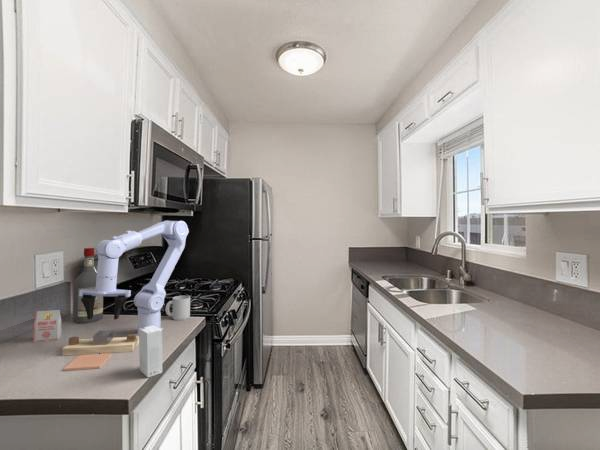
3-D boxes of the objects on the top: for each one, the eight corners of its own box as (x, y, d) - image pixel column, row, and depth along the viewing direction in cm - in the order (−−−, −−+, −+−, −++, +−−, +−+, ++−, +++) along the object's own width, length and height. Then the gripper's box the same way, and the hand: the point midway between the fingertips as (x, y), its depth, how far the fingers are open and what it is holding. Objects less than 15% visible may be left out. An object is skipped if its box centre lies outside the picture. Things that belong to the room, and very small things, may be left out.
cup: (191, 319, 134) (191, 298, 134) (166, 322, 129) (166, 300, 129) (188, 314, 140) (188, 294, 140) (164, 317, 135) (164, 297, 135)
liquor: (71, 320, 129) (72, 248, 129) (95, 315, 136) (96, 247, 136) (79, 324, 123) (80, 249, 123) (104, 319, 131) (105, 248, 131)
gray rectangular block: (99, 339, 103) (99, 330, 103) (112, 338, 104) (113, 330, 104) (92, 345, 98) (93, 336, 98) (106, 344, 99) (107, 335, 99)
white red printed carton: (38, 338, 109) (38, 310, 109) (61, 336, 111) (61, 308, 111) (33, 342, 106) (33, 313, 105) (57, 339, 108) (57, 311, 108)
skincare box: (163, 373, 86) (163, 329, 86) (146, 378, 83) (147, 333, 83) (154, 365, 90) (154, 324, 90) (137, 370, 87) (138, 327, 87)
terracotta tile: (79, 356, 95) (79, 355, 95) (111, 354, 97) (111, 353, 97) (63, 370, 86) (63, 368, 86) (99, 368, 88) (99, 366, 88)
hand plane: (74, 346, 103) (74, 334, 103) (139, 342, 107) (139, 331, 107) (62, 355, 96) (62, 342, 96) (132, 351, 100) (132, 339, 100)
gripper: (76, 277, 96) (71, 321, 95) (127, 278, 99) (123, 322, 98) (86, 274, 103) (82, 316, 102) (134, 276, 106) (130, 316, 105)
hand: (103, 318), depth 101 cm, fingers open, 7 cm apart
